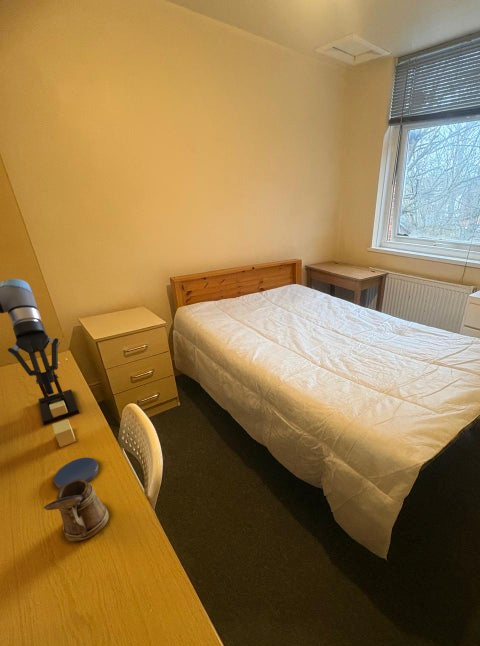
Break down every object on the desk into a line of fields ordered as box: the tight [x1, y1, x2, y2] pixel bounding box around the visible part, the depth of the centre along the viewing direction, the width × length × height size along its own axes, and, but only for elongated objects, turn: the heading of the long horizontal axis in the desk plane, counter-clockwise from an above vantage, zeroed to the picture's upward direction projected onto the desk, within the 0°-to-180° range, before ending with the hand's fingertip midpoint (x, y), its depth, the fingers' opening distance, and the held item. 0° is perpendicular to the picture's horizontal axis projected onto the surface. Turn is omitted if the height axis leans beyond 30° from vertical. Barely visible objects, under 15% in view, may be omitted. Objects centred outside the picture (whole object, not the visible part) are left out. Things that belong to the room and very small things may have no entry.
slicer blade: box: [38, 382, 64, 404], centre depth 103 cm, size 16×6×2 cm, turn 40°
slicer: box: [35, 370, 80, 426], centre depth 110 cm, size 16×10×14 cm, turn 40°
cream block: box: [49, 401, 68, 417], centre depth 107 cm, size 4×4×3 cm
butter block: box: [51, 418, 77, 448], centre depth 98 cm, size 4×6×5 cm, turn 40°
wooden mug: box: [43, 479, 110, 542], centre depth 69 cm, size 9×14×18 cm, turn 27°
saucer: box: [53, 457, 100, 490], centre depth 87 cm, size 10×10×1 cm
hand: (50, 392), depth 97 cm, fingers closed
